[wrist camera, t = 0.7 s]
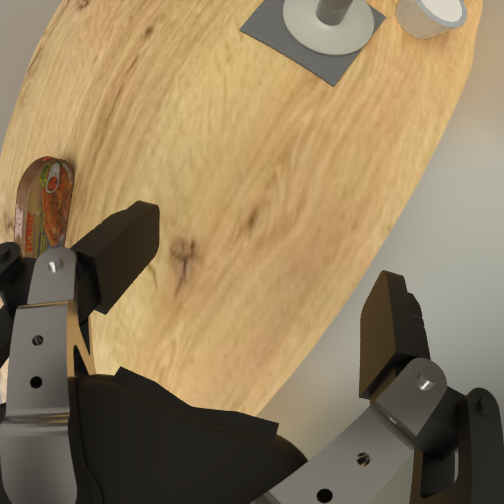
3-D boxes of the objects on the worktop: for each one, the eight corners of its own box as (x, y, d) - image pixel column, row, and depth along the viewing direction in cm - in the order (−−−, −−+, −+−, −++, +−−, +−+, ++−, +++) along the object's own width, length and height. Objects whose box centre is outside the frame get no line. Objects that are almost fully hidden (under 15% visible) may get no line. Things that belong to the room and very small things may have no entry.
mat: (239, 30, 28) (239, 29, 27) (297, -34, 24) (297, -36, 24) (333, 86, 29) (334, 86, 29) (385, 17, 25) (386, 17, 25)
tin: (63, 263, 38) (26, 287, 30) (47, 255, 38) (10, 277, 30) (80, 157, 33) (37, 163, 25) (62, 152, 33) (19, 156, 25)
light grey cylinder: (412, -10, 23) (435, -33, 17) (449, 31, 25) (477, 15, 18) (378, 9, 25) (398, -16, 18) (417, 52, 26) (445, 36, 20)
